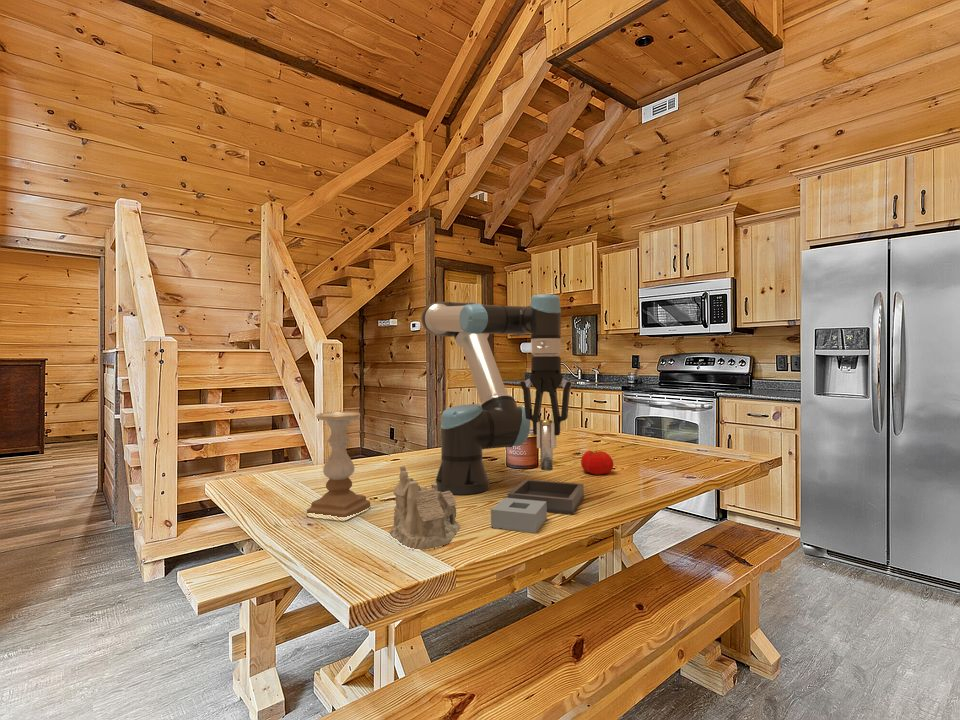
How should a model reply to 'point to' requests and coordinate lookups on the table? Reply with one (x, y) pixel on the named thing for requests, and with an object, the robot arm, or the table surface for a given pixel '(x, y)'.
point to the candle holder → (339, 471)
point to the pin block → (519, 515)
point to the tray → (551, 494)
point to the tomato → (597, 462)
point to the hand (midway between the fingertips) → (546, 447)
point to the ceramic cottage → (423, 514)
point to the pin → (546, 446)
